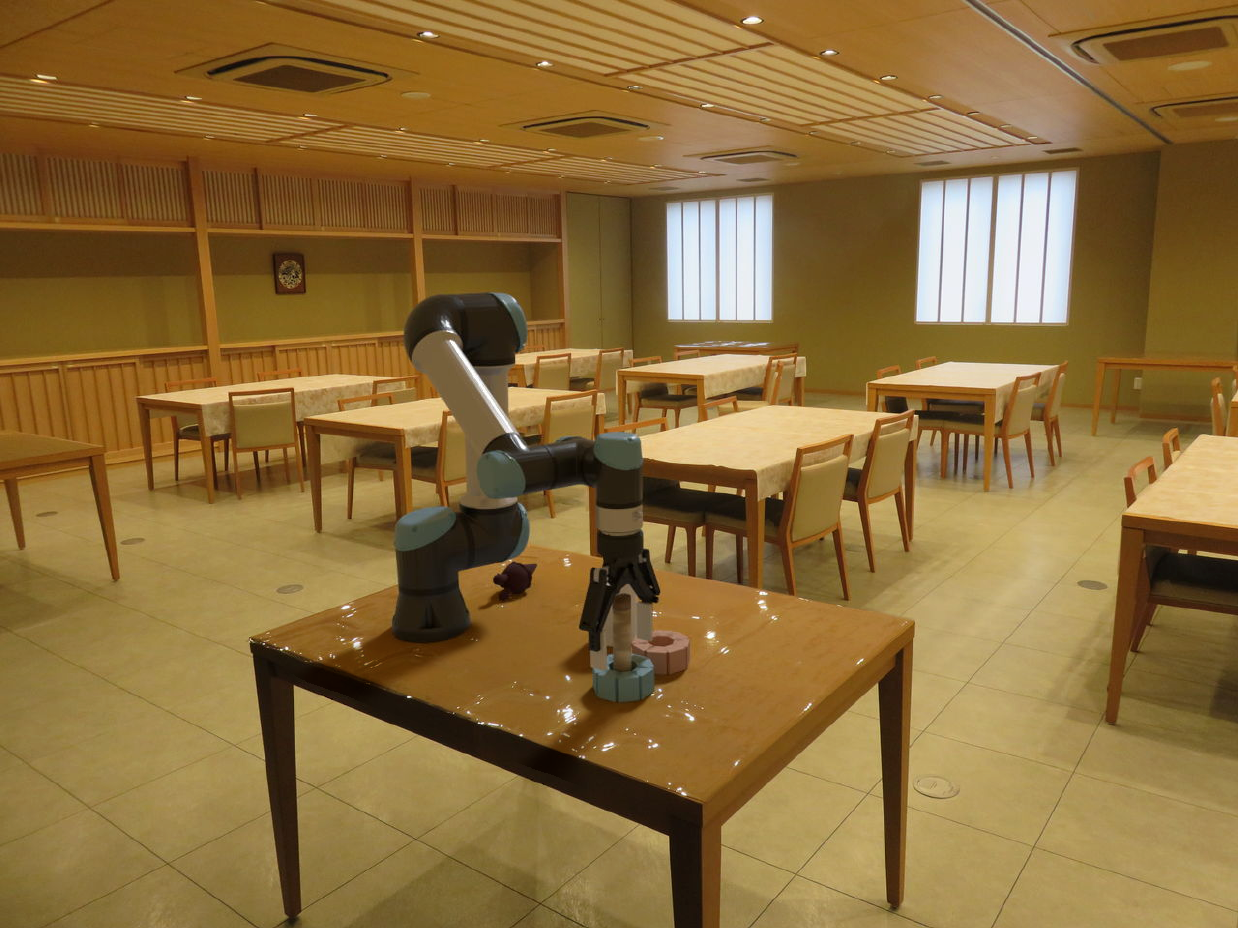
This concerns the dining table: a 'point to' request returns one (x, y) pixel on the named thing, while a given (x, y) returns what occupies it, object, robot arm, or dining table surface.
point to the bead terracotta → (664, 651)
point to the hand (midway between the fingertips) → (622, 653)
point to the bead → (624, 680)
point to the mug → (609, 622)
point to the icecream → (514, 578)
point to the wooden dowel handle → (622, 632)
